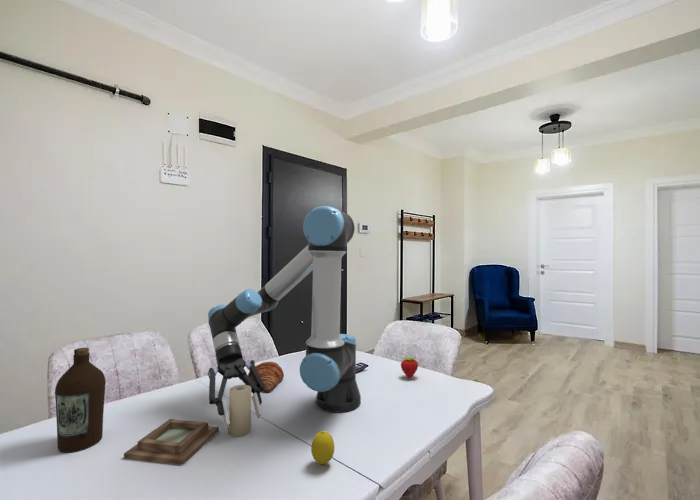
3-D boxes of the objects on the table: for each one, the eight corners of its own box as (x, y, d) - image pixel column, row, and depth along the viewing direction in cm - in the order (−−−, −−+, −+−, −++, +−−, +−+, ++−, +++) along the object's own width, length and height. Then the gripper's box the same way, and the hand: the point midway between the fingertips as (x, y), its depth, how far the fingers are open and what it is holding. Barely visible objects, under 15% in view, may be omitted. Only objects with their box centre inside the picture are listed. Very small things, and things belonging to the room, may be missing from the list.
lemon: (311, 458, 85) (311, 425, 85) (333, 457, 85) (334, 424, 85) (310, 472, 79) (311, 437, 79) (334, 471, 80) (334, 436, 80)
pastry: (296, 381, 136) (296, 361, 136) (267, 394, 123) (267, 372, 123) (266, 373, 145) (266, 354, 145) (236, 384, 132) (236, 364, 132)
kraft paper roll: (254, 426, 100) (254, 385, 100) (245, 437, 94) (245, 393, 94) (235, 424, 101) (235, 383, 101) (224, 435, 95) (225, 391, 95)
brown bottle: (69, 434, 95) (70, 344, 95) (112, 430, 98) (112, 342, 98) (44, 457, 85) (45, 356, 85) (93, 451, 87) (94, 353, 87)
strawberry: (397, 377, 140) (397, 353, 140) (412, 374, 143) (412, 350, 143) (406, 382, 135) (406, 356, 135) (421, 379, 138) (421, 354, 138)
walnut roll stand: (218, 430, 98) (218, 419, 98) (182, 465, 82) (182, 451, 82) (168, 426, 100) (168, 415, 100) (123, 458, 84) (123, 445, 84)
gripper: (257, 350, 116) (275, 416, 103) (189, 361, 104) (201, 438, 91) (263, 338, 112) (283, 405, 99) (193, 348, 100) (206, 426, 87)
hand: (244, 420), depth 95 cm, fingers open, 8 cm apart
